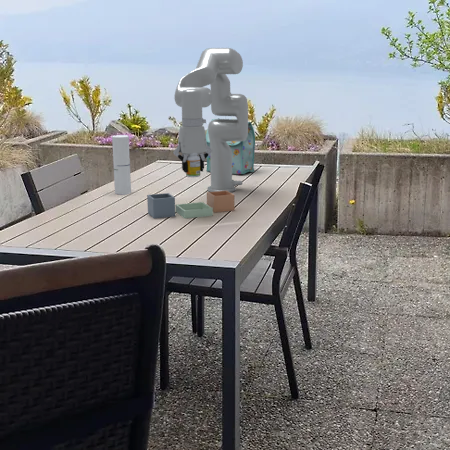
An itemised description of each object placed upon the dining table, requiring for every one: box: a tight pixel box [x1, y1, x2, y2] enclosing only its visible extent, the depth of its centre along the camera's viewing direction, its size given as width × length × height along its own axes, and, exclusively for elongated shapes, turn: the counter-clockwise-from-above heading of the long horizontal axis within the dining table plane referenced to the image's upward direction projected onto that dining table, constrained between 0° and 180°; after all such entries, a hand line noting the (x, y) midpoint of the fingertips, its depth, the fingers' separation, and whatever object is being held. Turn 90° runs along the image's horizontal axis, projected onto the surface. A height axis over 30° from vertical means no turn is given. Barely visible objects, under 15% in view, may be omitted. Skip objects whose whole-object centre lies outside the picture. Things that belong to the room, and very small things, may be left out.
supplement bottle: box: [185, 153, 201, 178], centre depth 253 cm, size 5×5×10 cm
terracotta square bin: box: [206, 191, 235, 213], centre depth 264 cm, size 8×8×7 cm
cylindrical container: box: [111, 134, 132, 195], centre depth 296 cm, size 7×7×25 cm
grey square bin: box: [146, 192, 176, 219], centre depth 256 cm, size 8×8×8 cm
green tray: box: [175, 201, 214, 219], centre depth 258 cm, size 11×11×4 cm
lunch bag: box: [205, 118, 256, 175], centre depth 342 cm, size 23×16×27 cm
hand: (193, 171), depth 254 cm, fingers closed on supplement bottle, 5 cm apart
